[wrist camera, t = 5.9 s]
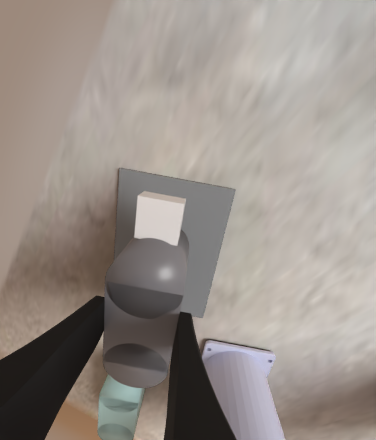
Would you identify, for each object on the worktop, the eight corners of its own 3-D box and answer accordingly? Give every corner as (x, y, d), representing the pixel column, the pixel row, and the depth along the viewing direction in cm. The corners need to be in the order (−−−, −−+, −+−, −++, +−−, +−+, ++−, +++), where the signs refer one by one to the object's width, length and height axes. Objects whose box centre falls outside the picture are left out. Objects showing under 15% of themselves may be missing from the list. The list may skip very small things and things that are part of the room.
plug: (173, 330, 16) (163, 392, 12) (127, 322, 16) (102, 381, 12) (200, 195, 12) (199, 217, 8) (139, 183, 12) (106, 200, 8)
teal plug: (118, 340, 23) (99, 382, 18) (151, 346, 23) (140, 390, 18) (113, 405, 26) (96, 452, 22) (141, 410, 26) (130, 459, 22)
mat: (202, 315, 21) (202, 318, 20) (112, 298, 21) (111, 301, 20) (234, 189, 16) (235, 189, 16) (121, 167, 16) (119, 168, 16)
